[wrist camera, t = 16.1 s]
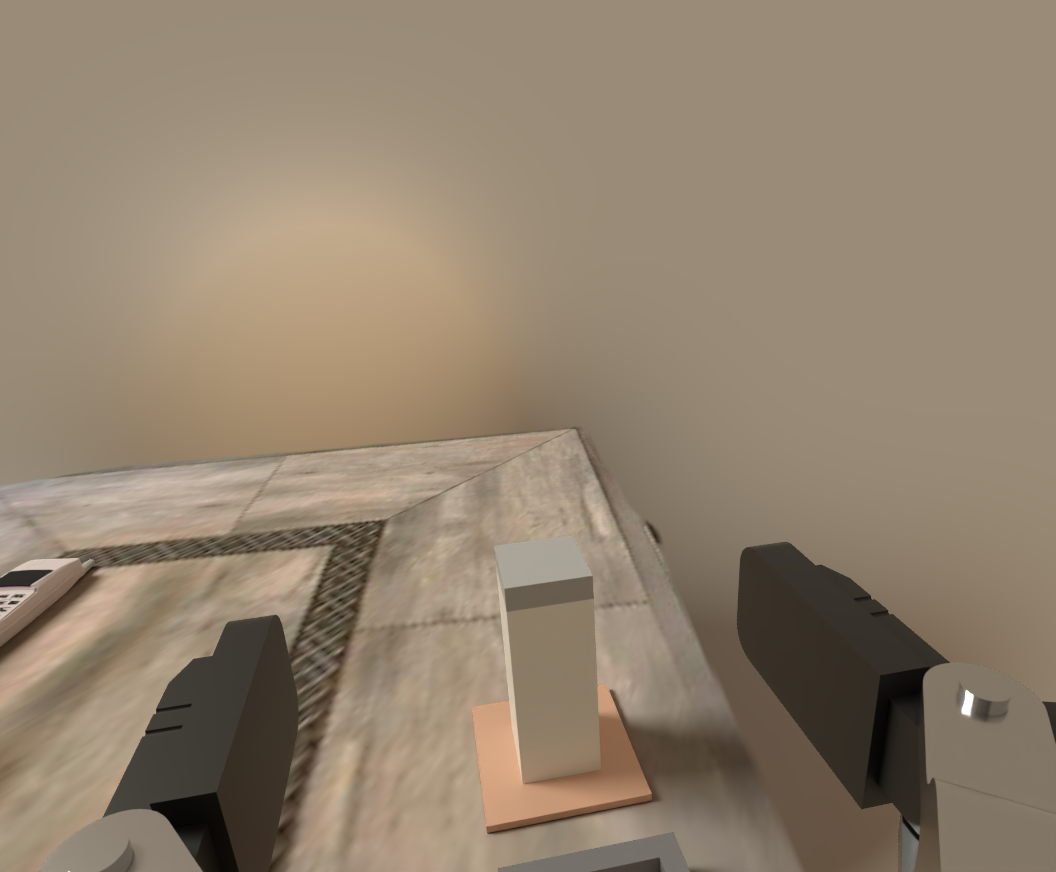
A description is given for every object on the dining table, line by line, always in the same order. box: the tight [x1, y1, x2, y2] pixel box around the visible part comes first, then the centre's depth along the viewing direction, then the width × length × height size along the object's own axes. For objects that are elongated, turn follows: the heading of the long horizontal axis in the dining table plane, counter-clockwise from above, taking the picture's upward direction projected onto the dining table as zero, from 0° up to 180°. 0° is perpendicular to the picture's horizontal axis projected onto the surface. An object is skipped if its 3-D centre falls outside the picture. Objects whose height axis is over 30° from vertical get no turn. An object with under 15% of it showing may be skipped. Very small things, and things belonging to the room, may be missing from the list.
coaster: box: [472, 684, 652, 833], centre depth 44 cm, size 10×10×1 cm
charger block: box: [494, 535, 601, 784], centre depth 42 cm, size 5×5×14 cm
